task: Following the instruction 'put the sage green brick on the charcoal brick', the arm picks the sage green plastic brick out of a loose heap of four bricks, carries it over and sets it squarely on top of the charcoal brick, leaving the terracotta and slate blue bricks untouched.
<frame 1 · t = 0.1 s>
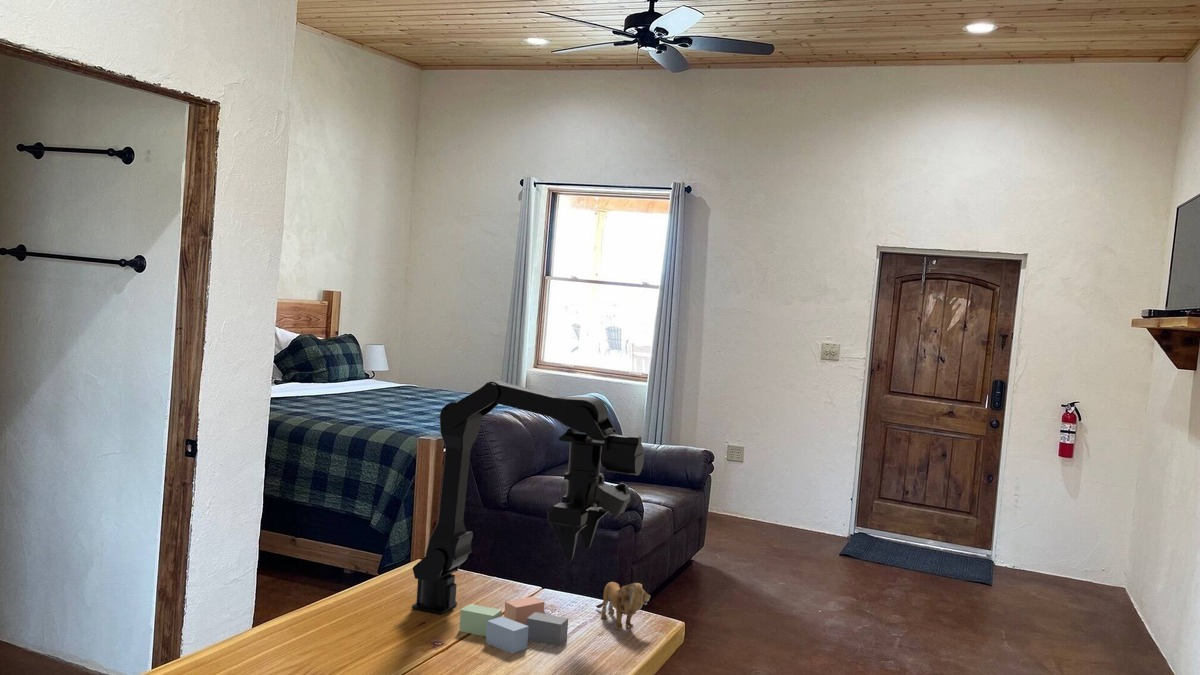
hand: (578, 554, 167), 15 cm above the table, fingers open, 9 cm apart
terracotta brick: (523, 623, 172), on the table
slate blue brick: (506, 646, 160), on the table
green brick: (479, 631, 166), on the table
lion figurine: (619, 623, 176), on the table
charcoal brick: (546, 640, 164), on the table
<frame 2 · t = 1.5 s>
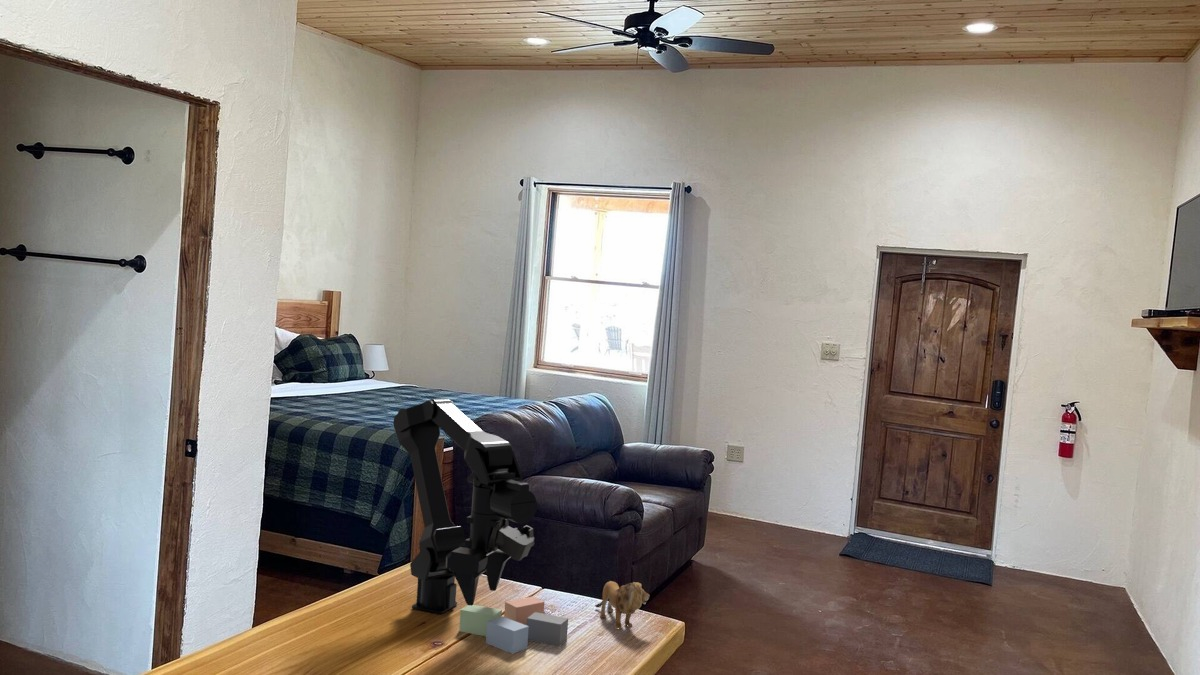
hand: (481, 597, 166), 6 cm above the table, fingers open, 9 cm apart
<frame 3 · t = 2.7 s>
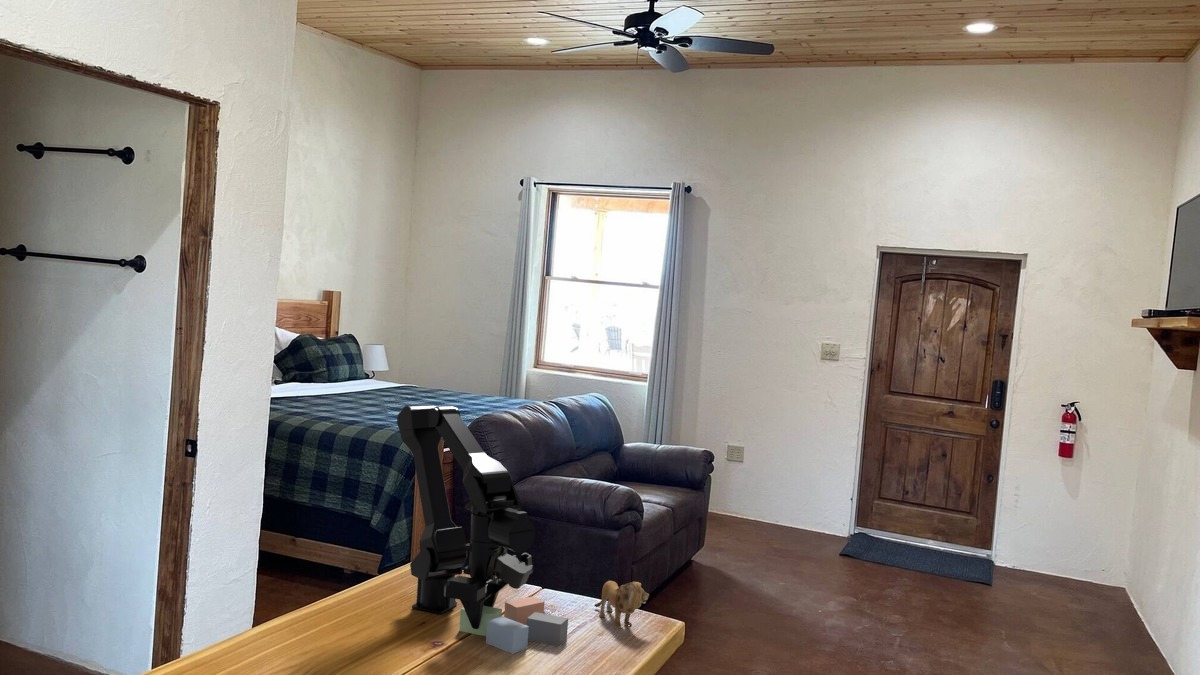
hand: (480, 625, 166), 1 cm above the table, fingers closed on green brick, 4 cm apart
green brick: (480, 630, 166), on the table, touching gripper
everything else where it was.
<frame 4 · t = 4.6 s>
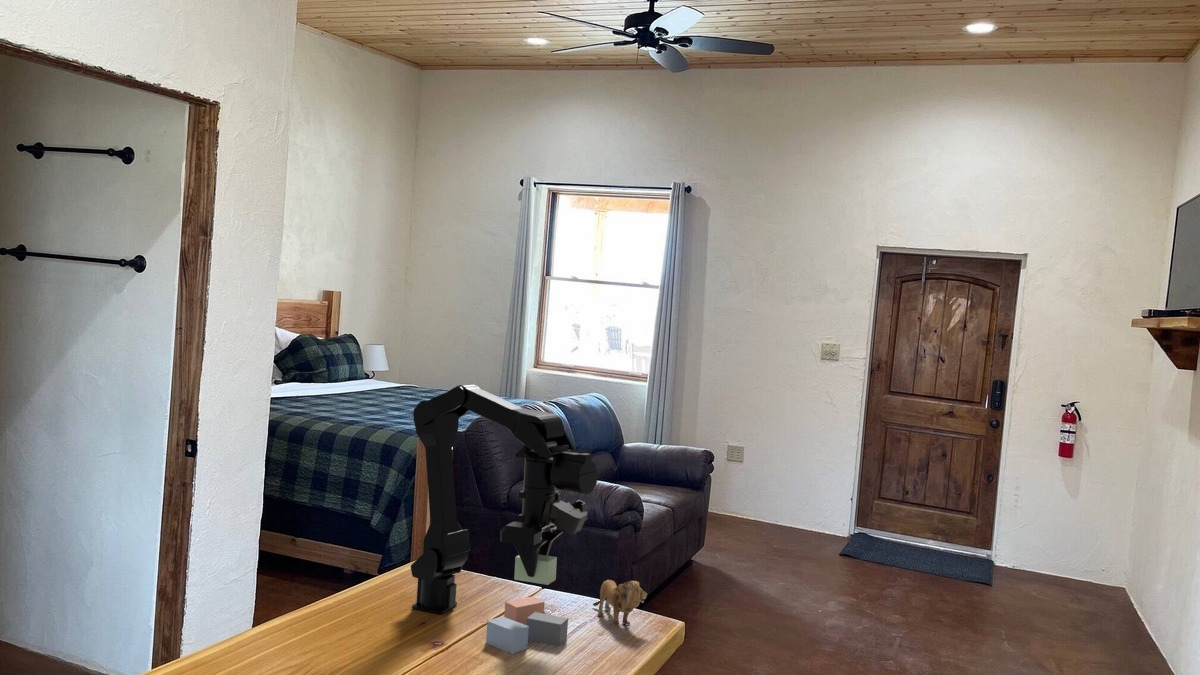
hand: (535, 573, 164), 12 cm above the table, fingers closed on green brick, 4 cm apart
green brick: (535, 579, 164), point 11 cm above the table, touching gripper
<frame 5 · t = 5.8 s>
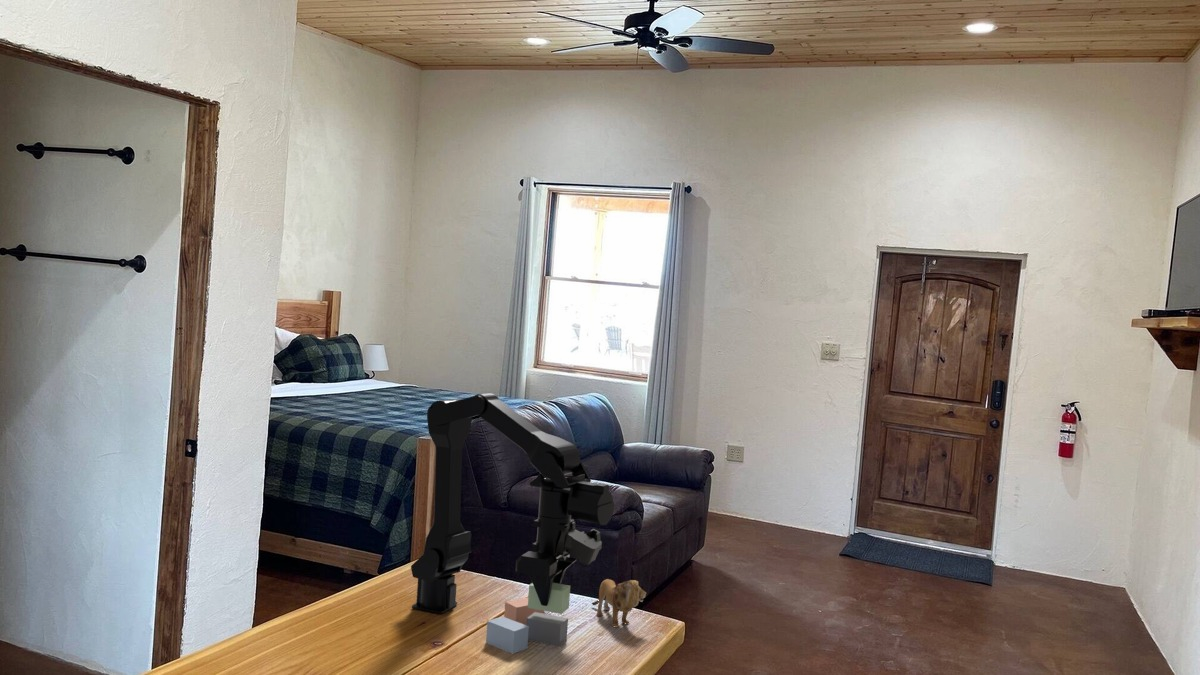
hand: (548, 602, 164), 7 cm above the table, fingers closed on green brick, 4 cm apart
green brick: (548, 607, 164), point 6 cm above the table, touching gripper
when the fingers open (6 cm above the table, at t = 6.7 s): green brick drops 1 cm, resting on charcoal brick.
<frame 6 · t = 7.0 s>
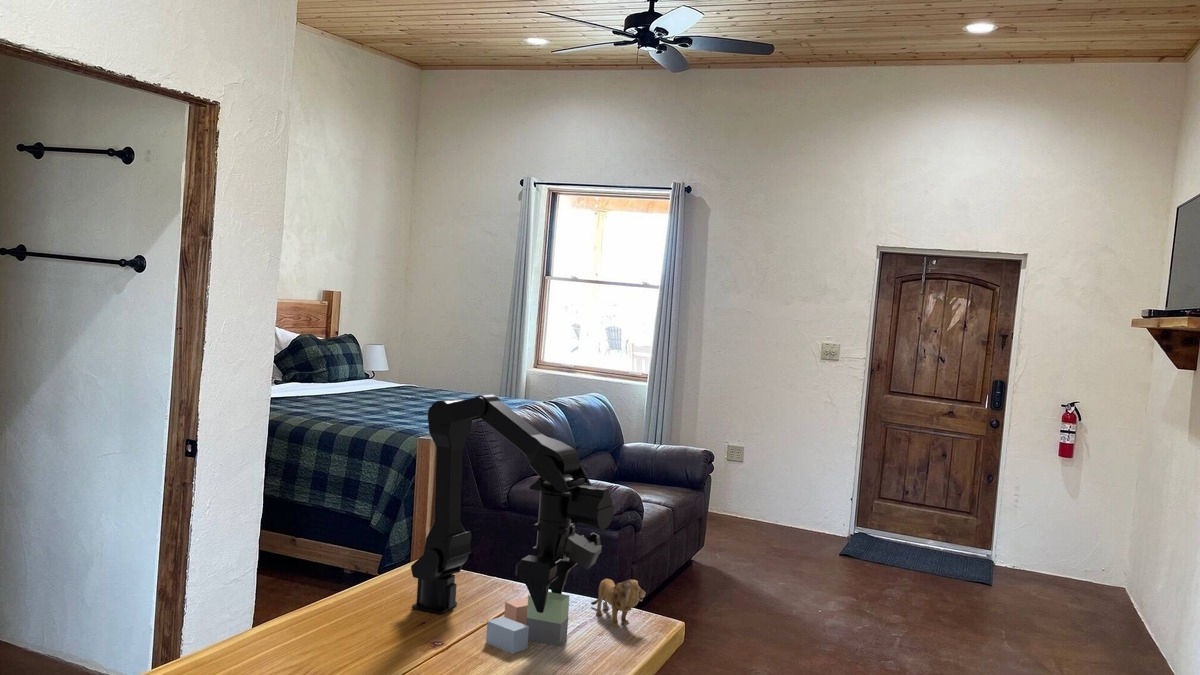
hand: (548, 605, 164), 6 cm above the table, fingers open, 7 cm apart
green brick: (547, 617, 164), point 4 cm above the table, touching charcoal brick
charcoal brick: (546, 639, 164), on the table, touching green brick
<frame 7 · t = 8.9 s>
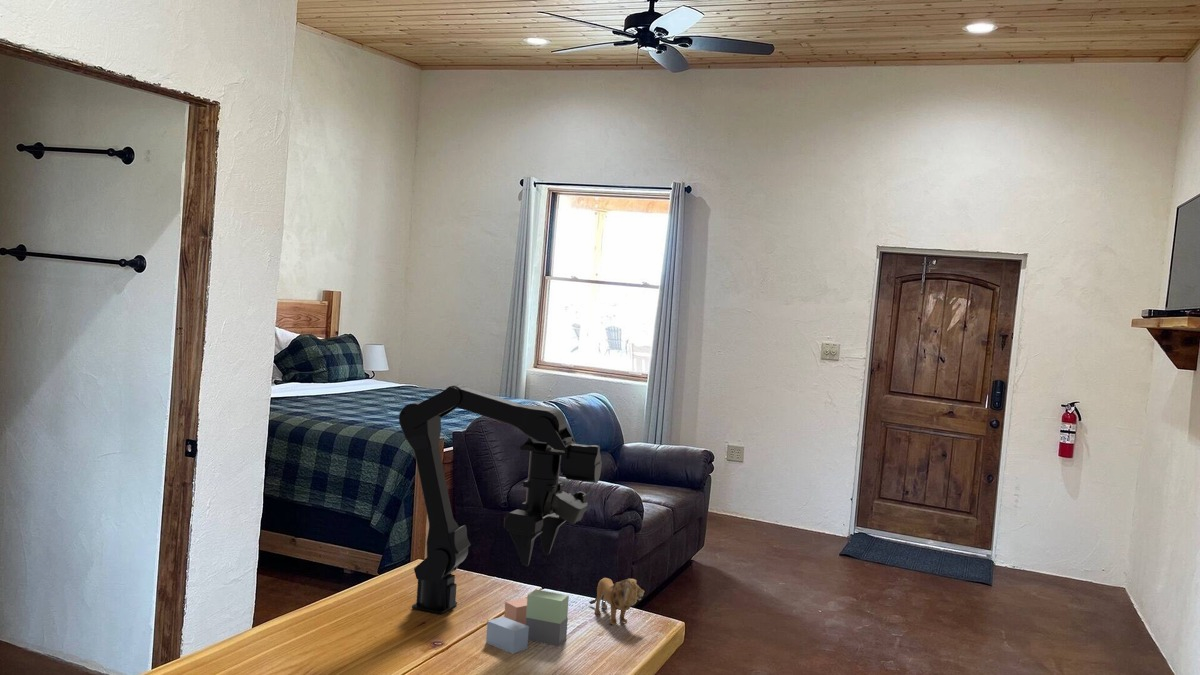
hand: (536, 559, 172), 12 cm above the table, fingers open, 9 cm apart
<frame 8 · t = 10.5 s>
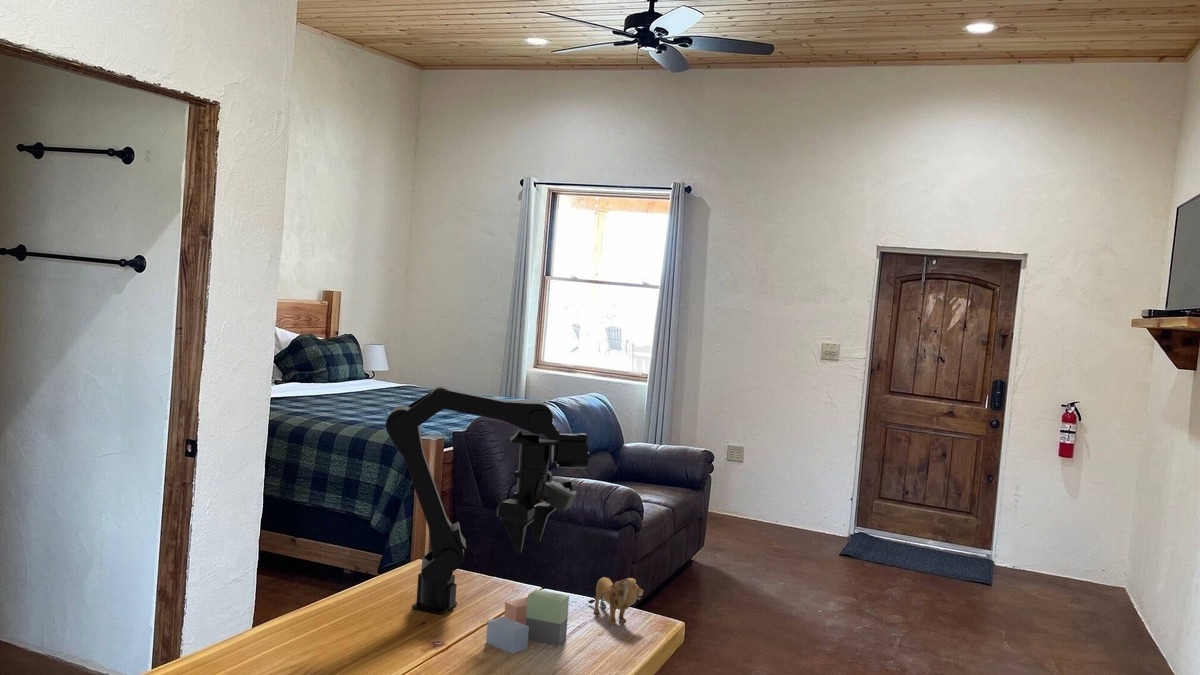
hand: (528, 546, 179), 12 cm above the table, fingers open, 9 cm apart
at the end: green brick 0.0 cm off-centre on the charcoal brick, point 4.0 cm above the charcoal brick's base; terracotta brick moved 0.2 cm from its start; slate blue brick moved 0.2 cm from its start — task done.
